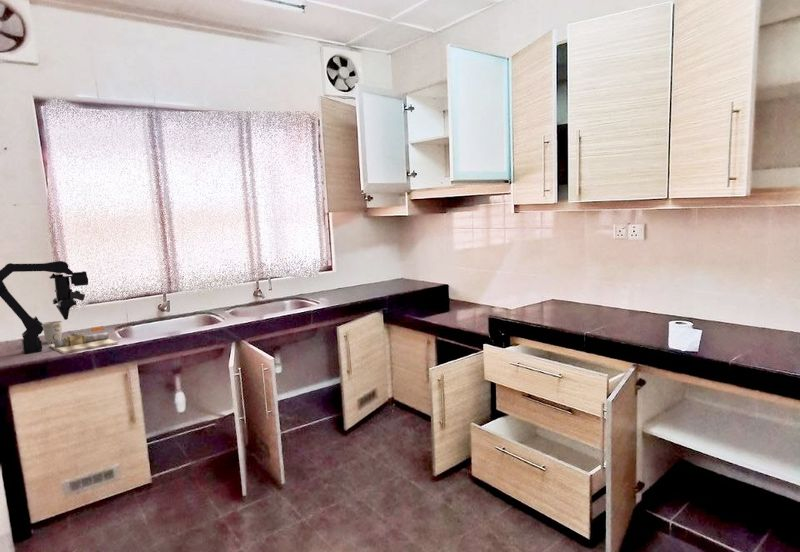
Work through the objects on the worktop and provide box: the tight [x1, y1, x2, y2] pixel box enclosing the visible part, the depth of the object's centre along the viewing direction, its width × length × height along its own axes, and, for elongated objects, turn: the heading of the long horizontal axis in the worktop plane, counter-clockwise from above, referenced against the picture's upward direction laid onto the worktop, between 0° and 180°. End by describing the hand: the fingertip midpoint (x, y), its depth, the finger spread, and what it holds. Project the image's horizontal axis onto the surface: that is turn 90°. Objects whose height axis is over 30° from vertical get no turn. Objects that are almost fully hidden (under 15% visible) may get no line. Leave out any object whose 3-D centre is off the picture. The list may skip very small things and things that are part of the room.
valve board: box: [49, 331, 119, 354], centre depth 233 cm, size 22×24×5 cm
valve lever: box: [70, 326, 104, 335], centre depth 235 cm, size 13×2×2 cm, turn 129°
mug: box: [42, 320, 63, 344], centre depth 245 cm, size 8×13×10 cm, turn 61°
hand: (66, 319), depth 232 cm, fingers closed
